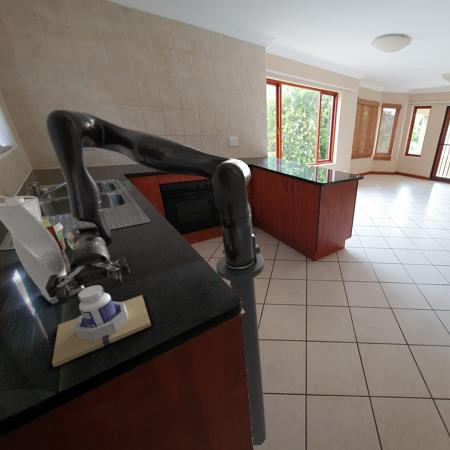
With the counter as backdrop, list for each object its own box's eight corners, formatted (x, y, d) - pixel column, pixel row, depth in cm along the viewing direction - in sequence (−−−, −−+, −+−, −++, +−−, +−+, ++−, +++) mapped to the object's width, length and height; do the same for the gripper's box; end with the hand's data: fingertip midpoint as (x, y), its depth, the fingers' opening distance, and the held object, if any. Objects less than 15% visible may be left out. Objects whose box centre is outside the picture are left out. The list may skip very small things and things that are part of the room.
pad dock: (142, 298, 62) (139, 287, 61) (151, 325, 54) (147, 314, 52) (59, 328, 53) (53, 316, 51) (54, 367, 44) (46, 354, 43)
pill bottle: (118, 311, 56) (106, 280, 53) (118, 325, 52) (106, 292, 49) (89, 320, 53) (75, 289, 50) (87, 336, 50) (72, 303, 46)
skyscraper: (44, 308, 58) (-13, 199, 47) (32, 297, 62) (-24, 193, 51) (86, 289, 65) (44, 190, 54) (73, 280, 69) (31, 185, 58)
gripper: (46, 255, 56) (35, 290, 44) (120, 239, 64) (127, 264, 53) (59, 281, 59) (51, 320, 47) (127, 262, 67) (136, 291, 56)
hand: (91, 291), depth 50 cm, fingers open, 8 cm apart
